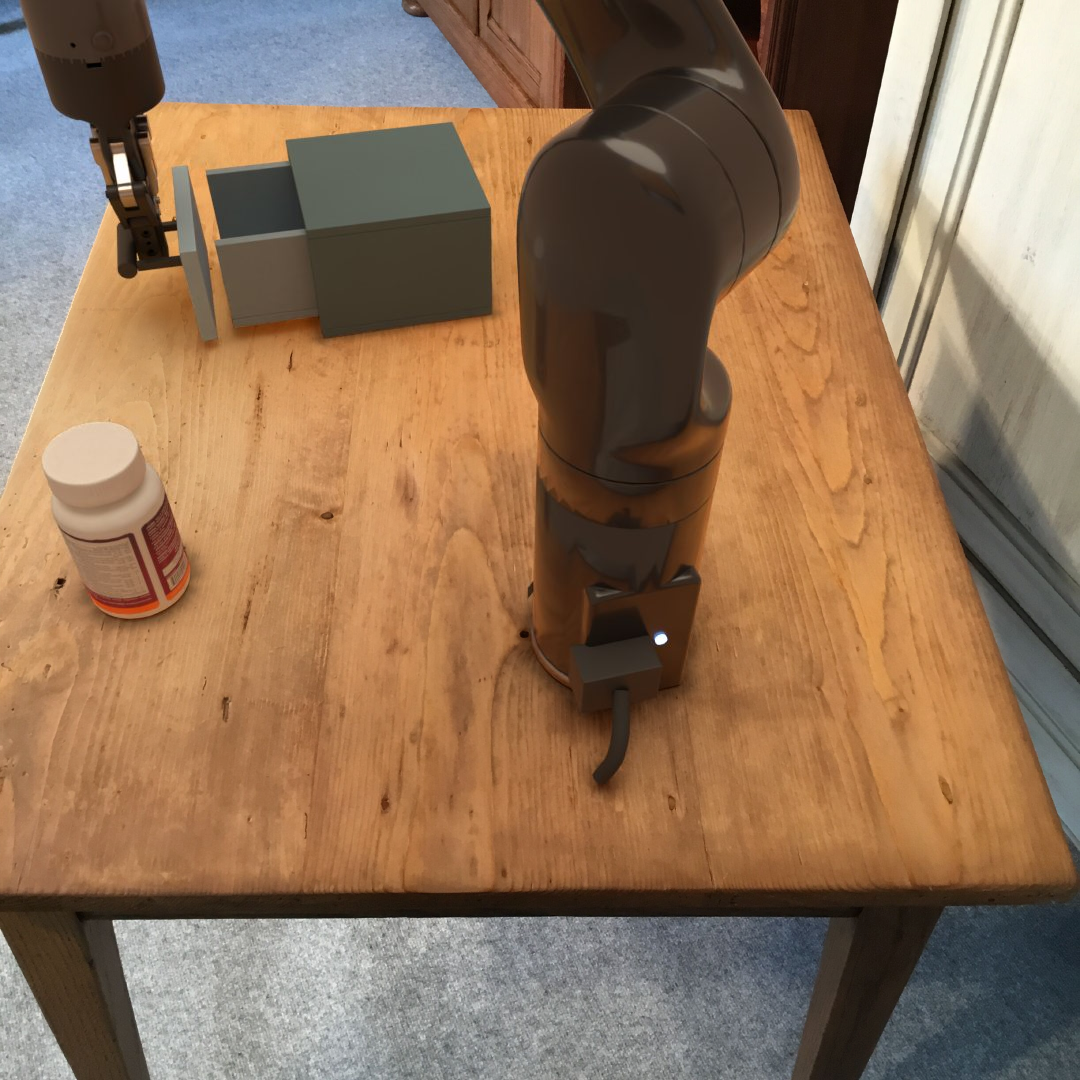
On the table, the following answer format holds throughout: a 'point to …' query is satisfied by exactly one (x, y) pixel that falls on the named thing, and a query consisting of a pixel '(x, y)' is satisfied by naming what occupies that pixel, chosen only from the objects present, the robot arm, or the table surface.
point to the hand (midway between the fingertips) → (155, 259)
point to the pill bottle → (115, 520)
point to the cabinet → (393, 228)
